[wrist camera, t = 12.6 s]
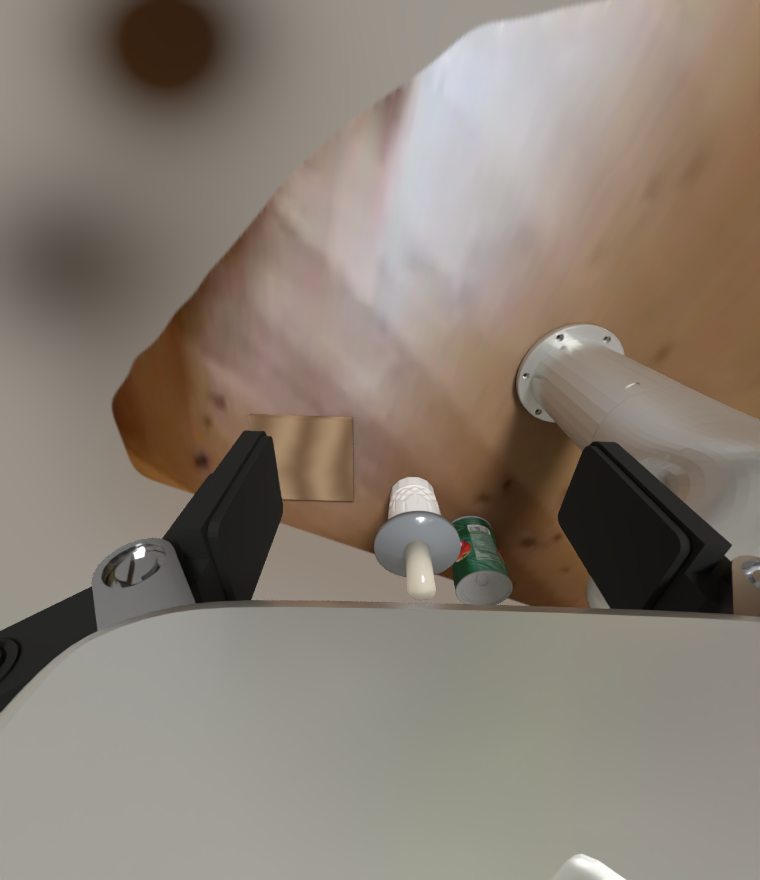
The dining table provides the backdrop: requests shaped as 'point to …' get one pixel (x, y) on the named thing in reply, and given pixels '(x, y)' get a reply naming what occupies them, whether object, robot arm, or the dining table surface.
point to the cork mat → (311, 455)
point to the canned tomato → (479, 564)
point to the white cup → (412, 497)
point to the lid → (417, 549)
